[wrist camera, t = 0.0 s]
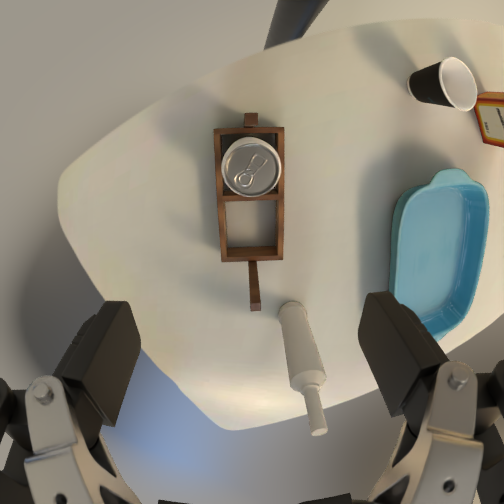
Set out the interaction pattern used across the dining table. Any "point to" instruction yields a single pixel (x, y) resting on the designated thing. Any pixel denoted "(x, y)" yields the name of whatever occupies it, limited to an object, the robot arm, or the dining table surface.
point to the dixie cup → (444, 85)
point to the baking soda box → (491, 117)
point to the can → (251, 167)
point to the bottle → (303, 362)
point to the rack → (274, 194)
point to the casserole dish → (439, 248)
